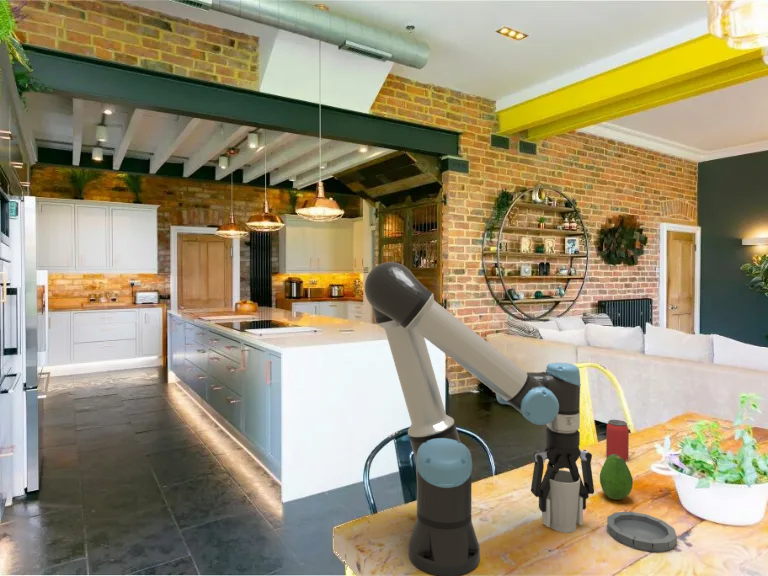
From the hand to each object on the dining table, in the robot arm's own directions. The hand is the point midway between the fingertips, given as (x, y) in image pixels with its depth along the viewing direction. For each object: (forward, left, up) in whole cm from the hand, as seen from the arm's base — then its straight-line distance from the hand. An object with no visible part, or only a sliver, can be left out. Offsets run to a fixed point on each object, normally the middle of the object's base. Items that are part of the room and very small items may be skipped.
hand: (562, 523), depth 117 cm
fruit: (+21, +12, -1) cm, 24 cm away
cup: (0, 0, -1) cm, 1 cm away
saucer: (+16, -6, -1) cm, 17 cm away
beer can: (+38, +39, -1) cm, 54 cm away
